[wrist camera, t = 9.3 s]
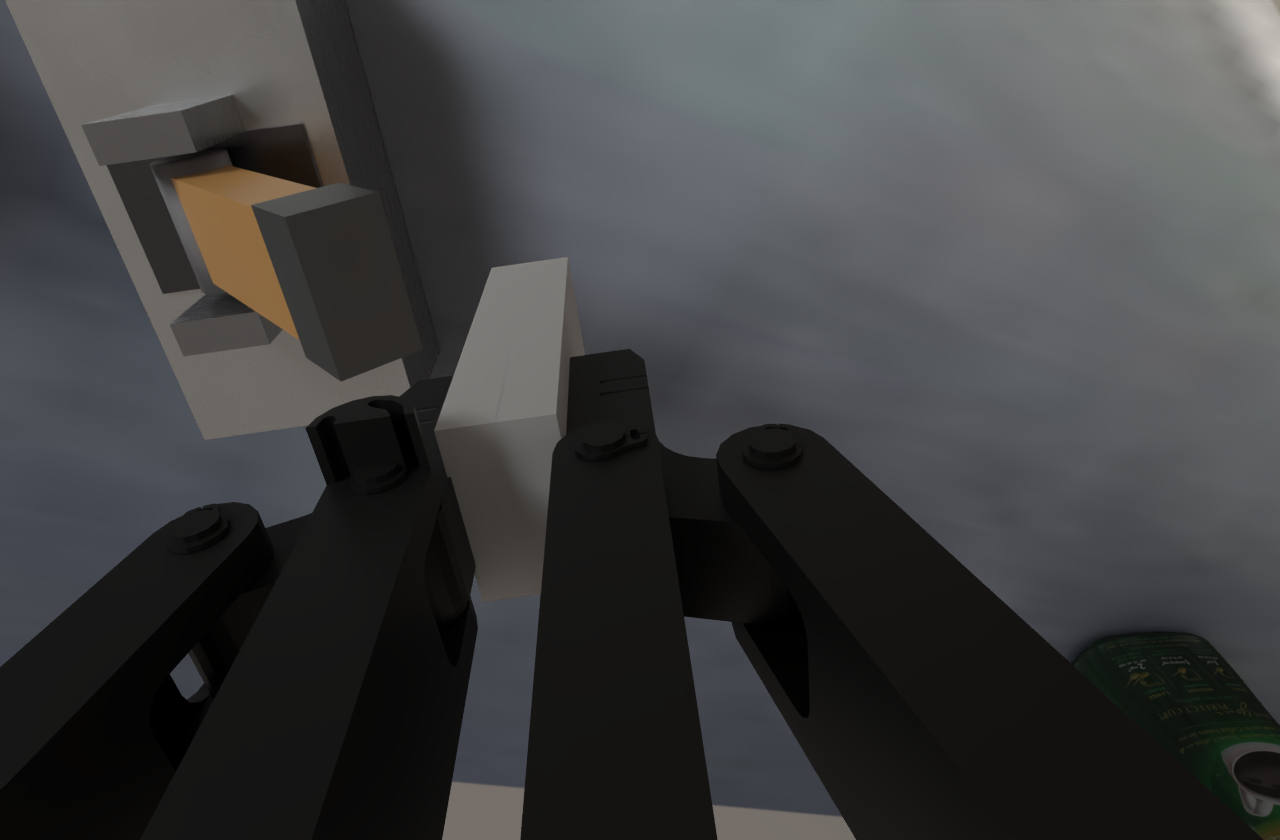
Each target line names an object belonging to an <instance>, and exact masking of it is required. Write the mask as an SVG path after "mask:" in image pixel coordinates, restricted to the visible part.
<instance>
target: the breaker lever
mask: <svg viewBox="0 0 1280 840" xmlns="http://www.w3.org/2000/svg"><path fill="white" fill-rule="evenodd" d="M150 167H151V170H152V172H153V175H154V177H155V179H156V182H157V184H158V187H159V189H160V192H161V194H162V196H163V199H164V201H165V204H166V206H167V209H168V211H169V213H170V216H171V218H172V221H173V223H174V225H175V228H176V230H177V233H178V235H179V238H180V240H181V242H182V245H183V247H184V250H185V252H186V255H187V257H188V259H189V262H190V264H191V267H192V269H193V272H194V274H195V276H196V279H197V281H198V284H199V286H200V288H201V291H202V293H204V294H224V293H229V294H230V295H232V296H233V297H235V298H236V299H238V300H239V301H241V302H242V303H244V304H245V305H247V306H248V307H250V308H251V309H253V310H254V311H256V312H257V313H259V314H260V315H262V316H263V317H265V318H266V319H268V320H269V321H271V322H272V323H274V324H276V325H277V326H279V327H280V328H282V329H283V330H285V331H286V332H288V333H289V334H291V335H292V336H294V337H295V338H297V339H298V340H300V342H301V345H302V348H303V351H304V353H305V356H306V358H307V359H309V360H310V361H312V362H313V363H315V364H316V365H317V366H319V367H320V368H322V369H323V370H325V371H326V372H328V373H329V374H330V375H332V376H333V377H335V378H336V379H338V380H339V381H341V382H342V381H344V380H347V379H349V378H352V377H354V376H357V375H359V374H362V373H365V372H367V371H370V370H372V369H375V368H377V367H380V366H382V365H385V364H387V363H390V362H393V361H395V360H398V359H400V358H403V357H405V356H408V355H410V354H413V353H415V352H418V351H421V350H423V348H422V344H421V341H420V337H419V334H418V330H417V327H416V323H415V319H414V316H413V312H412V309H411V305H410V302H409V298H408V295H407V291H406V287H405V284H404V280H403V277H402V273H401V270H400V266H399V263H398V259H397V255H396V252H395V248H394V245H393V241H392V238H391V234H390V231H389V227H388V223H387V220H386V216H385V213H384V209H383V206H382V202H381V199H380V195H379V192H377V191H373V190H369V189H365V188H360V187H356V186H352V185H347V184H343V183H335V184H331V185H328V186H324V187H320V188H315V187H311V186H307V185H303V184H299V183H295V182H291V181H288V180H284V179H280V178H276V177H272V176H268V175H264V174H261V173H257V172H253V171H249V170H245V169H241V168H237V167H234V166H233V165H232V163H231V160H230V157H229V154H228V152H227V150H226V149H214V150H205V151H199V152H195V153H188V154H182V155H178V156H173V157H169V158H165V159H162V160H158V161H155V162H153V163H151V164H150Z"/></svg>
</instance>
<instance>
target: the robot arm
mask: <svg viewBox="0 0 1280 840" xmlns="http://www.w3.org/2000/svg"><path fill="white" fill-rule="evenodd" d="M306 430H307V433H308V436H309V438H310V441H311V444H312V447H313V449H314V452H315V455H316V457H317V460H318V463H319V465H320V468H321V471H322V473H323V476H324V479H325V481H326V484H327V486H326V488H325V490H324V492H323V494H322V496H321V497H320V499H319V501H318V503H317V505H316V507H315V509H314V511H313V513H311V514H308V515H305V516H303V517H300V518H296V519H293V520H290V521H287V522H284V523H281V524H277V525H274V526H271V527H268V528H265V527H264V524H263V522H262V520H261V517H260V515H259V513H258V511H257V510H256V509H254V508H253V507H252V506H251V505H250V504H243V503H237V502H231V503H222V504H210V505H206V506H203V508H201V507H199V508H196V509H193V510H190V511H188V512H186V513H185V514H184V515H183V516H181V517H179V518H177V519H175V520H172V521H170V522H169V523H168V524H166V525H165V526H163V527H162V528H160V529H159V530H158V531H156V532H155V533H153V534H152V535H151V536H150V537H149V538H147V539H146V540H145V541H144V542H143V543H142V544H141V545H139V546H138V547H137V548H136V549H135V550H134V551H133V552H131V553H130V554H129V555H128V556H127V557H126V558H125V559H123V560H122V561H121V562H120V563H119V564H118V565H117V566H115V567H114V568H113V569H112V570H111V571H110V572H109V573H107V574H106V575H105V576H104V577H103V578H102V579H101V580H99V581H98V582H97V583H96V584H95V585H94V586H93V587H91V588H90V589H89V590H88V591H87V592H86V593H85V594H83V595H82V596H81V597H80V598H79V599H78V600H77V601H75V602H74V603H73V604H72V605H71V606H70V607H69V608H67V609H66V610H65V611H64V612H63V613H62V614H61V615H59V616H58V617H57V618H56V619H55V620H54V621H53V622H51V623H50V624H49V625H48V626H47V627H46V628H45V629H43V630H42V631H41V632H40V633H39V634H38V635H37V636H35V637H34V638H33V639H32V640H31V641H30V642H29V643H27V644H26V645H25V646H24V647H23V648H22V649H21V650H19V651H18V652H17V653H16V654H15V655H14V656H13V657H11V658H10V659H9V660H8V661H7V662H6V663H5V664H3V665H2V666H1V667H0V840H442V836H443V831H444V824H445V819H446V812H447V807H448V801H449V795H450V789H451V783H452V778H453V772H454V766H455V760H456V754H457V748H458V742H459V736H460V730H461V725H462V719H463V713H464V707H465V701H466V695H467V689H468V683H469V677H470V672H471V666H472V660H473V654H474V648H475V642H476V636H477V630H478V625H477V617H476V613H475V610H474V606H473V603H472V600H471V596H470V593H471V588H472V583H473V578H474V573H475V576H476V579H477V583H478V586H479V590H480V593H481V597H482V600H483V602H488V601H495V600H502V599H510V598H517V597H524V596H531V595H539V594H541V597H540V609H539V622H538V634H537V646H536V658H535V670H534V682H533V694H532V706H531V718H530V730H529V742H528V755H527V767H526V779H525V791H524V803H523V815H522V827H521V840H717V834H716V827H715V820H714V814H713V807H712V800H711V794H710V787H709V780H708V774H707V767H706V760H705V754H704V747H703V741H702V734H701V727H700V721H699V714H698V707H697V701H696V694H695V687H694V681H693V674H692V667H691V661H690V654H689V647H688V641H687V634H686V627H685V621H684V616H685V617H694V618H703V619H712V620H721V621H730V622H732V626H733V629H734V633H735V636H736V638H737V640H738V642H739V643H740V645H741V647H742V648H743V650H744V652H745V653H746V655H747V657H748V659H749V660H750V662H751V664H752V665H753V667H754V669H755V670H756V672H757V674H758V675H759V677H760V679H761V680H762V682H763V684H764V685H765V687H766V689H767V690H768V692H769V694H770V696H771V697H772V699H773V701H774V702H775V704H776V706H777V707H778V709H779V711H780V712H781V714H782V716H783V717H784V719H785V721H786V722H787V724H788V726H789V727H790V729H791V731H792V733H793V734H794V736H795V738H796V739H797V741H798V743H799V744H800V746H801V748H802V749H803V751H804V753H805V754H806V756H807V758H808V759H809V761H810V763H811V764H812V766H813V768H814V770H815V771H816V773H817V775H818V776H819V778H820V780H821V781H822V783H823V785H824V786H825V788H826V790H827V791H828V793H829V795H830V796H831V798H832V800H833V801H834V803H835V805H836V806H837V808H838V810H839V812H840V813H841V815H842V817H843V818H844V820H845V822H846V823H847V825H848V827H849V828H850V830H851V832H852V833H853V835H854V837H855V838H856V840H1264V839H1263V838H1261V837H1260V836H1259V835H1258V834H1257V833H1256V832H1255V831H1254V830H1253V829H1252V828H1250V827H1249V826H1248V825H1247V824H1246V823H1245V822H1244V821H1243V820H1242V819H1241V818H1240V817H1238V816H1237V815H1236V814H1235V813H1234V812H1233V811H1232V810H1231V809H1230V808H1229V807H1227V806H1226V805H1225V804H1224V803H1223V802H1222V801H1221V800H1220V799H1219V798H1218V797H1217V796H1215V795H1214V794H1213V793H1212V792H1211V791H1210V790H1209V789H1208V788H1207V787H1206V786H1204V785H1203V784H1202V783H1201V782H1200V781H1199V780H1198V779H1197V778H1196V777H1195V776H1194V775H1192V774H1191V773H1190V772H1189V771H1188V770H1187V769H1186V768H1185V767H1184V766H1183V765H1181V764H1180V763H1179V762H1178V761H1177V760H1176V759H1175V758H1174V757H1173V756H1172V755H1170V754H1169V753H1168V752H1167V751H1166V750H1165V749H1164V748H1163V747H1162V746H1161V745H1160V744H1158V743H1157V742H1156V741H1155V740H1154V739H1153V738H1152V737H1151V736H1150V735H1149V734H1147V733H1146V732H1145V731H1144V730H1143V729H1142V728H1141V727H1140V726H1139V725H1138V724H1137V723H1135V722H1134V721H1133V720H1132V719H1131V718H1130V717H1129V716H1128V715H1127V714H1126V713H1124V712H1123V711H1122V710H1121V709H1120V708H1119V707H1118V706H1117V705H1116V704H1115V703H1114V702H1112V701H1111V700H1110V699H1109V698H1108V697H1107V696H1106V695H1105V694H1104V693H1103V692H1101V691H1100V690H1099V689H1098V688H1097V687H1096V686H1095V685H1094V684H1093V683H1092V682H1091V681H1089V680H1088V679H1087V678H1086V677H1085V676H1084V675H1083V674H1082V673H1081V672H1080V671H1078V670H1077V669H1076V668H1075V667H1074V666H1073V665H1072V664H1071V663H1070V662H1069V661H1068V660H1066V659H1065V658H1064V657H1063V656H1062V655H1061V654H1060V653H1059V652H1058V651H1057V650H1055V649H1054V648H1053V647H1052V646H1051V645H1050V644H1049V643H1048V642H1047V641H1046V640H1045V639H1043V638H1042V637H1041V636H1040V635H1039V634H1038V633H1037V632H1036V631H1035V630H1034V629H1032V628H1031V627H1030V626H1029V625H1028V624H1027V623H1026V622H1025V621H1024V620H1023V619H1022V618H1020V617H1019V616H1018V615H1017V614H1016V613H1015V612H1014V611H1013V610H1012V609H1011V608H1009V607H1008V606H1007V605H1006V604H1005V603H1004V602H1003V601H1002V600H1001V599H1000V598H998V597H997V596H996V595H995V594H994V593H993V592H992V591H991V590H990V589H989V588H988V587H986V586H985V585H984V584H983V583H982V582H981V581H980V580H979V579H978V578H977V577H975V576H974V575H973V574H972V573H971V572H970V571H969V570H968V569H967V568H966V567H965V566H963V565H962V564H961V563H960V562H959V561H958V560H957V559H956V558H955V557H954V556H952V555H951V554H950V553H949V552H948V551H947V550H946V549H945V548H944V547H943V546H942V545H940V544H939V543H938V542H937V541H936V540H935V539H934V538H933V537H932V536H931V535H929V534H928V533H927V532H926V531H925V530H924V529H923V528H922V527H921V526H920V525H919V524H917V523H916V522H915V521H914V520H913V519H912V518H911V517H910V516H909V515H908V514H906V513H905V512H904V511H903V510H902V509H901V508H900V507H899V506H898V505H897V504H896V503H894V502H893V501H892V500H891V499H890V498H889V497H888V496H887V495H886V494H885V493H883V492H882V491H881V490H880V489H879V488H878V487H877V486H876V485H875V484H874V483H873V482H871V481H870V480H869V479H868V478H867V477H866V476H865V475H864V474H863V473H862V472H860V471H859V470H858V469H857V468H856V467H855V466H854V465H853V464H852V463H851V462H850V461H848V460H847V459H846V458H845V457H844V456H843V455H842V454H841V453H840V452H839V451H837V450H836V449H835V448H834V447H833V446H832V445H831V444H830V443H829V442H828V441H826V440H825V439H824V438H823V437H821V436H819V435H818V434H816V433H814V432H813V431H811V430H808V429H804V428H800V427H796V426H792V425H787V424H779V425H776V424H765V425H763V426H758V427H752V428H748V429H745V430H743V431H740V432H738V433H735V434H733V435H731V436H730V437H729V438H728V439H727V440H725V441H724V442H723V443H722V444H721V445H720V447H719V450H718V452H717V455H716V458H717V459H708V458H697V457H689V456H685V455H682V454H678V453H675V452H673V451H671V450H669V449H667V448H666V447H664V446H663V445H662V444H661V443H660V442H659V441H658V438H657V436H656V433H655V427H654V420H653V414H652V407H651V401H650V394H649V388H648V381H647V375H646V368H645V362H644V359H642V358H641V357H640V356H638V355H637V354H636V353H634V352H633V351H632V350H630V349H626V350H619V351H611V352H604V353H597V354H590V355H585V353H584V347H583V341H582V335H581V330H580V324H579V318H578V312H577V306H576V301H575V295H574V289H573V283H572V278H571V272H570V266H569V260H568V257H565V258H557V259H550V260H543V261H536V262H529V263H522V264H515V265H507V266H500V267H493V268H491V271H490V274H489V277H488V279H487V282H486V285H485V288H484V291H483V294H482V296H481V299H480V302H479V305H478V308H477V311H476V313H475V316H474V319H473V322H472V325H471V328H470V331H469V333H468V336H467V339H466V342H465V345H464V348H463V350H462V353H461V356H460V359H459V362H458V365H457V367H456V370H455V373H454V376H449V377H441V378H434V379H427V380H420V381H418V382H416V383H415V384H414V385H413V386H411V387H410V388H409V389H408V390H407V391H405V392H404V393H403V394H402V395H401V396H393V395H385V396H371V397H367V398H362V399H357V400H353V401H350V402H347V403H345V404H342V405H339V406H337V407H334V408H332V409H330V410H328V411H327V412H325V413H323V414H321V415H320V416H318V417H316V418H315V419H314V420H313V421H312V422H311V423H310V424H309V425H308V426H307V427H306ZM188 653H189V655H190V657H191V659H192V661H193V662H194V664H195V666H196V668H197V670H198V672H199V674H200V676H201V677H202V679H203V681H204V684H203V685H202V687H201V688H200V689H199V690H198V691H197V693H195V694H194V695H193V696H191V697H190V698H189V699H188V700H186V699H185V698H184V697H183V696H182V695H181V693H180V692H179V690H178V688H177V686H176V684H175V683H174V681H173V679H172V677H171V676H170V673H171V672H172V670H173V669H174V668H175V667H176V666H177V665H178V664H179V663H180V661H181V660H182V659H183V658H184V657H185V656H186V655H187V654H188Z"/></svg>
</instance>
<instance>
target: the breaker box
mask: <svg viewBox="0 0 1280 840" xmlns="http://www.w3.org/2000/svg"><path fill="white" fill-rule="evenodd" d="M5 1H6V3H7V5H8V8H9V10H10V12H11V14H12V16H13V19H14V21H15V23H16V25H17V27H18V30H19V32H20V34H21V36H22V38H23V41H24V43H25V45H26V47H27V49H28V52H29V54H30V56H31V58H32V60H33V63H34V65H35V67H36V69H37V71H38V74H39V76H40V78H41V80H42V82H43V85H44V87H45V89H46V91H47V93H48V96H49V98H50V100H51V102H52V104H53V107H54V109H55V111H56V113H57V115H58V118H59V120H60V122H61V124H62V126H63V129H64V131H65V133H66V135H67V138H68V140H69V142H70V144H71V146H72V149H73V151H74V153H75V155H76V157H77V160H78V162H79V164H80V166H81V168H82V171H83V173H84V175H85V177H86V179H87V182H88V184H89V186H90V188H91V190H92V193H93V195H94V197H95V199H96V201H97V204H98V206H99V208H100V210H101V212H102V215H103V217H104V219H105V221H106V223H107V226H108V228H109V230H110V232H111V234H112V237H113V239H114V241H115V243H116V245H117V248H118V250H119V252H120V254H121V256H122V259H123V261H124V263H125V265H126V268H127V270H128V272H129V274H130V276H131V279H132V281H133V283H134V285H135V287H136V290H137V292H138V294H139V296H140V298H141V301H142V303H143V305H144V307H145V309H146V312H147V314H148V316H149V318H150V320H151V323H152V325H153V327H154V329H155V331H156V334H157V336H158V338H159V340H160V342H161V345H162V347H163V349H164V351H165V353H166V356H167V358H168V360H169V362H170V364H171V367H172V369H173V371H174V373H175V375H176V378H177V380H178V382H179V384H180V386H181V389H182V391H183V393H184V395H185V397H186V400H187V402H188V404H189V406H190V409H191V411H192V413H193V415H194V417H195V420H196V422H197V424H198V426H199V428H200V431H201V433H202V435H203V437H204V439H205V440H207V439H214V438H221V437H228V436H235V435H243V434H250V433H257V432H264V431H271V430H278V429H285V428H292V427H300V426H307V425H309V424H310V423H311V422H312V421H313V420H314V419H315V418H316V417H318V416H320V415H321V414H323V413H325V412H327V411H328V410H330V409H332V408H334V407H337V406H339V405H342V404H345V403H347V402H350V401H353V400H357V399H362V398H367V397H371V396H385V395H393V396H401V395H402V394H403V393H404V392H405V391H407V390H408V389H409V388H410V387H411V386H413V385H414V384H415V383H416V382H418V381H420V380H427V379H429V378H430V376H431V373H432V371H433V368H434V365H435V363H436V360H437V358H438V355H439V353H440V351H439V348H438V344H437V340H436V337H435V333H434V329H433V326H432V322H431V318H430V314H429V311H428V307H427V303H426V300H425V296H424V292H423V289H422V285H421V281H420V277H419V274H418V270H417V266H416V263H415V259H414V255H413V252H412V248H411V244H410V240H409V237H408V233H407V229H406V226H405V222H404V218H403V215H402V211H401V207H400V203H399V200H398V196H397V192H396V189H395V185H394V181H393V178H392V174H391V170H390V166H389V163H388V159H387V155H386V152H385V148H384V144H383V141H382V137H381V133H380V130H379V126H378V122H377V118H376V115H375V111H374V107H373V104H372V100H371V96H370V93H369V89H368V85H367V81H366V78H365V74H364V70H363V67H362V63H361V59H360V56H359V52H358V48H357V44H356V41H355V37H354V33H353V30H352V26H351V22H350V19H349V15H348V11H347V7H346V4H345V0H5ZM214 149H226V150H227V152H228V154H229V157H230V160H231V163H232V165H233V166H234V167H237V168H241V169H245V170H249V171H253V172H257V173H261V174H264V175H268V176H272V177H276V178H280V179H284V180H288V181H291V182H295V183H299V184H303V185H307V186H311V187H315V188H320V187H324V186H328V185H331V184H335V183H343V184H347V185H352V186H356V187H360V188H365V189H369V190H373V191H377V192H379V195H380V199H381V202H382V206H383V209H384V213H385V216H386V220H387V223H388V227H389V231H390V234H391V238H392V241H393V245H394V248H395V252H396V255H397V259H398V263H399V266H400V270H401V273H402V277H403V280H404V284H405V287H406V291H407V295H408V298H409V302H410V305H411V309H412V312H413V316H414V319H415V323H416V327H417V330H418V334H419V337H420V341H421V344H422V348H423V350H421V351H418V352H415V353H413V354H410V355H408V356H405V357H403V358H400V359H398V360H395V361H393V362H390V363H387V364H385V365H382V366H380V367H377V368H375V369H372V370H370V371H367V372H365V373H362V374H359V375H357V376H354V377H352V378H349V379H347V380H344V381H342V382H341V381H339V380H338V379H336V378H335V377H333V376H332V375H330V374H329V373H328V372H326V371H325V370H323V369H322V368H320V367H319V366H317V365H316V364H315V363H313V362H312V361H310V360H309V359H307V358H306V356H305V353H304V351H303V348H302V345H301V342H300V340H298V339H297V338H295V337H294V336H292V335H291V334H289V333H288V332H286V331H285V330H283V329H282V328H280V327H279V326H277V325H276V324H274V323H272V322H271V321H269V320H268V319H266V318H265V317H263V316H262V315H260V314H259V313H257V312H256V311H254V310H253V309H251V308H250V307H248V306H247V305H245V304H244V303H242V302H241V301H239V300H238V299H236V298H235V297H233V296H232V295H230V294H229V293H224V294H204V293H202V291H201V288H200V286H199V284H198V281H197V279H196V276H195V274H194V272H193V269H192V267H191V264H190V262H189V259H188V257H187V255H186V252H185V250H184V247H183V245H182V242H181V240H180V238H179V235H178V233H177V230H176V228H175V225H174V223H173V221H172V218H171V216H170V213H169V211H168V209H167V206H166V204H165V201H164V199H163V196H162V194H161V192H160V189H159V187H158V184H157V182H156V179H155V177H154V175H153V172H152V170H151V167H150V164H151V163H153V162H155V161H158V160H162V159H165V158H169V157H173V156H178V155H182V154H188V153H195V152H199V151H205V150H214Z"/></svg>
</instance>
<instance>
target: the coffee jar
mask: <svg viewBox="0 0 1280 840" xmlns="http://www.w3.org/2000/svg"><path fill="white" fill-rule="evenodd" d="M1072 665H1073V666H1074V667H1075V668H1076V669H1077V670H1078V671H1080V672H1081V673H1082V674H1083V675H1084V676H1085V677H1086V678H1087V679H1088V680H1089V681H1091V682H1092V683H1093V684H1094V685H1095V686H1096V687H1097V688H1098V689H1099V690H1100V691H1101V692H1103V693H1104V694H1105V695H1106V696H1107V697H1108V698H1109V699H1110V700H1111V701H1112V702H1114V703H1115V704H1116V705H1117V706H1118V707H1119V708H1120V709H1121V710H1122V711H1123V712H1124V713H1126V714H1127V715H1128V716H1129V717H1130V718H1131V719H1132V720H1133V721H1134V722H1135V723H1137V724H1138V725H1139V726H1140V727H1141V728H1142V729H1143V730H1144V731H1145V732H1146V733H1147V734H1149V735H1150V736H1151V737H1152V738H1153V739H1154V740H1155V741H1156V742H1157V743H1158V744H1160V745H1161V746H1162V747H1163V748H1164V749H1165V750H1166V751H1167V752H1168V753H1169V754H1170V755H1172V756H1173V757H1174V758H1175V759H1176V760H1177V761H1178V762H1179V763H1180V764H1181V765H1183V766H1184V767H1185V768H1186V769H1187V770H1188V771H1189V772H1190V773H1191V774H1192V775H1194V776H1195V777H1196V778H1197V779H1198V780H1199V781H1200V782H1201V783H1202V784H1203V785H1204V786H1206V787H1207V788H1208V789H1209V790H1210V791H1211V792H1212V793H1213V794H1214V795H1215V796H1217V797H1218V798H1219V799H1220V800H1221V801H1222V802H1223V803H1224V804H1225V805H1226V806H1227V807H1229V808H1230V809H1231V810H1232V811H1233V812H1234V813H1235V814H1236V815H1237V816H1238V817H1240V818H1241V819H1242V820H1243V821H1244V822H1245V823H1246V824H1247V825H1248V826H1249V827H1250V828H1252V829H1253V830H1254V831H1255V832H1256V833H1257V834H1258V835H1259V836H1260V837H1261V838H1263V839H1264V840H1280V725H1279V724H1278V723H1277V722H1276V721H1275V720H1274V718H1273V717H1272V716H1271V715H1270V714H1269V712H1268V711H1267V710H1266V709H1265V708H1264V706H1263V705H1262V704H1261V703H1260V702H1259V700H1258V699H1257V698H1256V697H1255V695H1254V694H1253V693H1252V692H1251V690H1250V689H1249V688H1248V687H1247V685H1246V684H1245V683H1244V682H1243V680H1242V679H1241V678H1240V677H1239V676H1238V674H1237V673H1236V672H1235V671H1234V670H1233V668H1232V667H1231V666H1230V665H1229V664H1228V663H1227V662H1226V660H1225V659H1224V658H1223V657H1222V656H1221V655H1220V654H1219V653H1218V652H1217V650H1216V649H1215V648H1214V647H1213V646H1212V645H1211V644H1210V643H1209V642H1208V641H1206V640H1205V639H1204V638H1201V637H1199V636H1196V635H1193V634H1188V633H1177V632H1143V633H1130V634H1122V635H1115V636H1109V637H1105V638H1102V639H1099V640H1097V641H1095V642H1093V643H1092V644H1091V645H1090V646H1089V647H1087V648H1086V649H1085V650H1084V651H1083V652H1081V653H1080V654H1079V655H1078V657H1077V658H1076V659H1075V660H1074V661H1073V662H1072Z"/></svg>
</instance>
